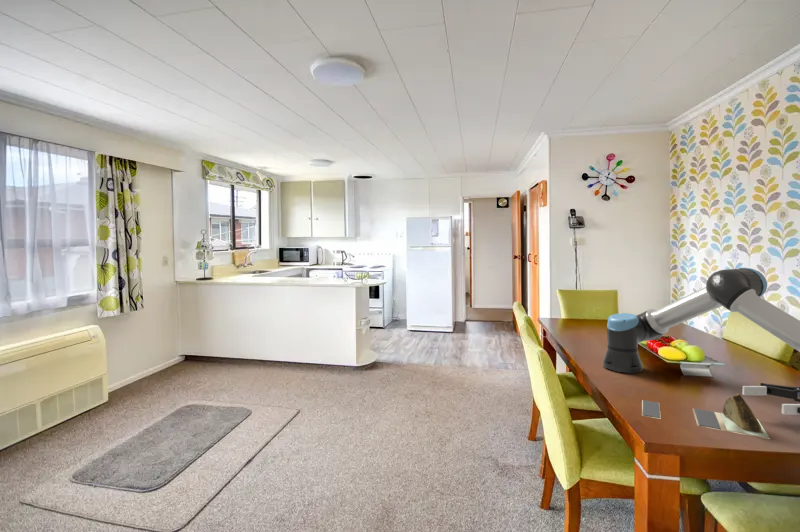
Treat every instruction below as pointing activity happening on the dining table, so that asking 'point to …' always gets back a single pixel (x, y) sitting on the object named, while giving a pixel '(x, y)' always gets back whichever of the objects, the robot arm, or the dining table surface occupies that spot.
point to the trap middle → (707, 418)
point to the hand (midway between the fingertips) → (761, 399)
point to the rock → (741, 413)
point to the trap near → (651, 409)
